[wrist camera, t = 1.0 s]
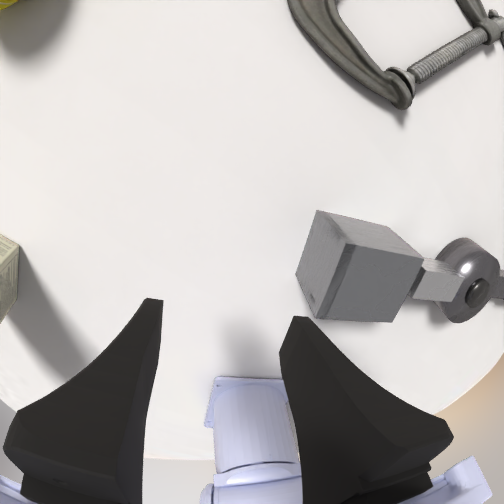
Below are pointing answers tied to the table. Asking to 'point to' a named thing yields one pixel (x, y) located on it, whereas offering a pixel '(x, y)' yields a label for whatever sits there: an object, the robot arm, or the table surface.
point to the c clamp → (393, 79)
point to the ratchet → (459, 280)
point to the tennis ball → (6, 3)
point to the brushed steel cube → (355, 269)
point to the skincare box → (8, 275)
